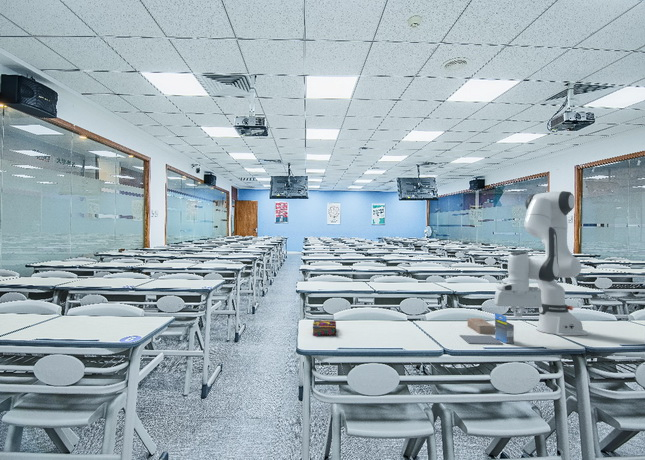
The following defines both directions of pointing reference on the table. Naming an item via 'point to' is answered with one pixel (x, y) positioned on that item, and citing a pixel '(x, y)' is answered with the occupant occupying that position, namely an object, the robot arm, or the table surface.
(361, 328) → the table surface
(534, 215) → the robot arm
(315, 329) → the decorated brown box
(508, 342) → the label tape cartridge
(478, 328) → the brick
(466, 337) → the pad
